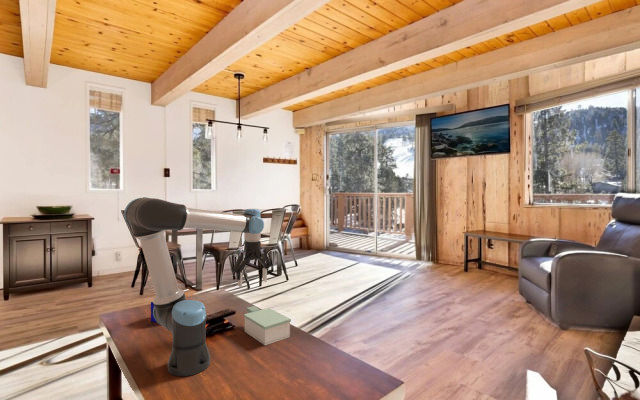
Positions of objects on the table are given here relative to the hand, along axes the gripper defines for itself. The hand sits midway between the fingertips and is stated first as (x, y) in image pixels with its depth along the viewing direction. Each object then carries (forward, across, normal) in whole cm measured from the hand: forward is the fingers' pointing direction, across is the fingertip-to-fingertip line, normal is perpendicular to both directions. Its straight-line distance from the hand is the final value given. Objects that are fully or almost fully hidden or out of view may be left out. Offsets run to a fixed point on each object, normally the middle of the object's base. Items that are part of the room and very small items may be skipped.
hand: (252, 283), depth 163 cm
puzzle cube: (+21, +30, -35) cm, 50 cm away
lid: (+15, 0, +10) cm, 18 cm away
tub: (+21, 0, +13) cm, 24 cm away
